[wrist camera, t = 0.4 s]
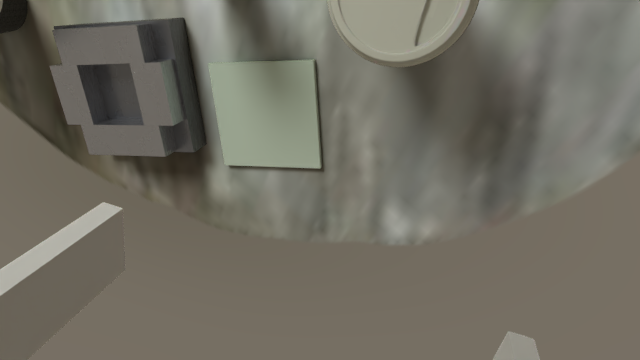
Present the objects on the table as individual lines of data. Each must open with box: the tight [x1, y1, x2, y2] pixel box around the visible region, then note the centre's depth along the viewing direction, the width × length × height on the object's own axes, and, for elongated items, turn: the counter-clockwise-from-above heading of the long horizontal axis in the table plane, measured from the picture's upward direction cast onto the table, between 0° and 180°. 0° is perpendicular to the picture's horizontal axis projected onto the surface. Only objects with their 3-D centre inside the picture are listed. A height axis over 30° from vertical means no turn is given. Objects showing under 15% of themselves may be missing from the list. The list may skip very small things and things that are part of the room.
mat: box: [208, 59, 322, 168], centre depth 39 cm, size 10×10×1 cm
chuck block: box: [50, 18, 206, 157], centre depth 40 cm, size 12×12×4 cm
